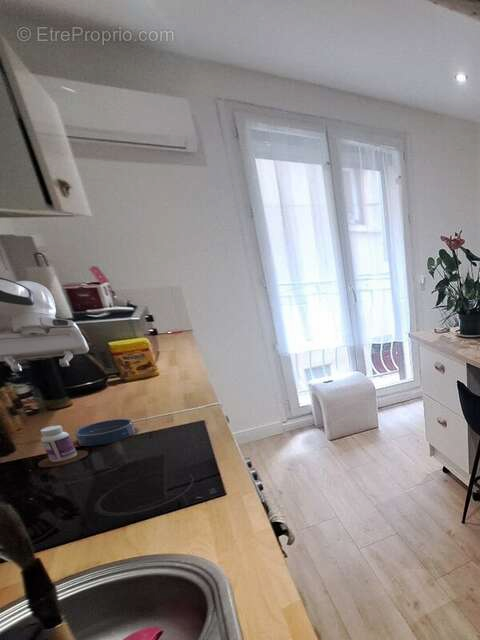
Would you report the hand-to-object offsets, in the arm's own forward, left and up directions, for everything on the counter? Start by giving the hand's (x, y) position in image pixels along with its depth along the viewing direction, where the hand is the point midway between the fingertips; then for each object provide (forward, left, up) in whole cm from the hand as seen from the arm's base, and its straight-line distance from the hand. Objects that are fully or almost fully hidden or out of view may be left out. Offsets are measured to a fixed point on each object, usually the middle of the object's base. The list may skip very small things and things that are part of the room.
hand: (41, 367), depth 120 cm
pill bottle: (-2, -12, -25) cm, 28 cm away
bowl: (+8, -1, -25) cm, 26 cm away
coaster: (-2, -12, -25) cm, 28 cm away
